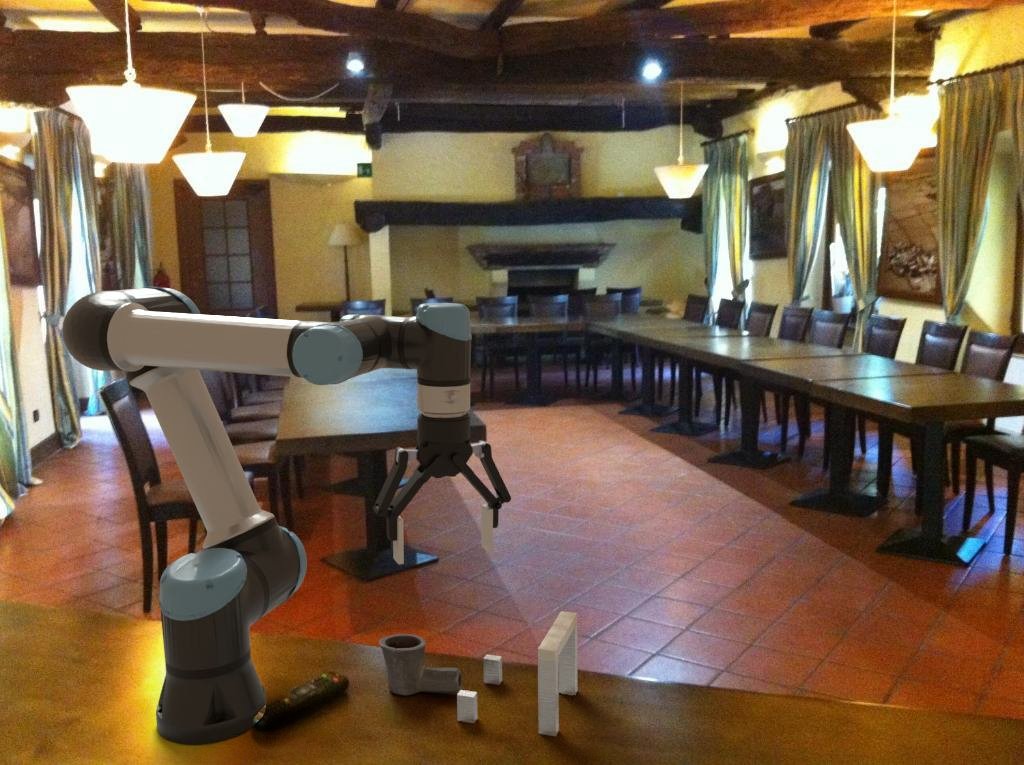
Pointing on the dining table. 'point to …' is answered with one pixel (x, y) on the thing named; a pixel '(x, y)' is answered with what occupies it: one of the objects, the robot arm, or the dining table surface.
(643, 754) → the dining table surface
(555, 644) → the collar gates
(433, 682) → the pipe
